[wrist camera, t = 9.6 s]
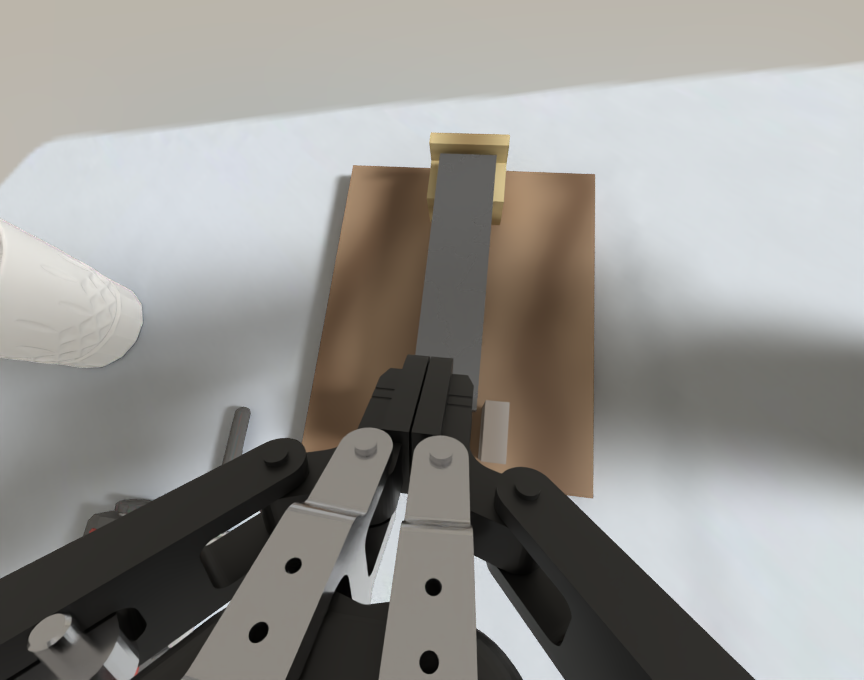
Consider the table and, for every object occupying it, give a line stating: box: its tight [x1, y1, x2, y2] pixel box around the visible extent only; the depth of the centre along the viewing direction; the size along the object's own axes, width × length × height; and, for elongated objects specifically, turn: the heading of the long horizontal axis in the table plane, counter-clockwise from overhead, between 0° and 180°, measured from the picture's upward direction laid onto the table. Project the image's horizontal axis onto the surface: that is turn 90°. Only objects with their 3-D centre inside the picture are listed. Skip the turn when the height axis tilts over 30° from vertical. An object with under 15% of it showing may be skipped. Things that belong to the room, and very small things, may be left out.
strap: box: [415, 153, 497, 438], centre depth 23 cm, size 4×18×2 cm, turn 174°
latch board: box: [302, 133, 595, 498], centre depth 25 cm, size 18×22×6 cm
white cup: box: [0, 218, 143, 368], centre depth 25 cm, size 8×8×10 cm
